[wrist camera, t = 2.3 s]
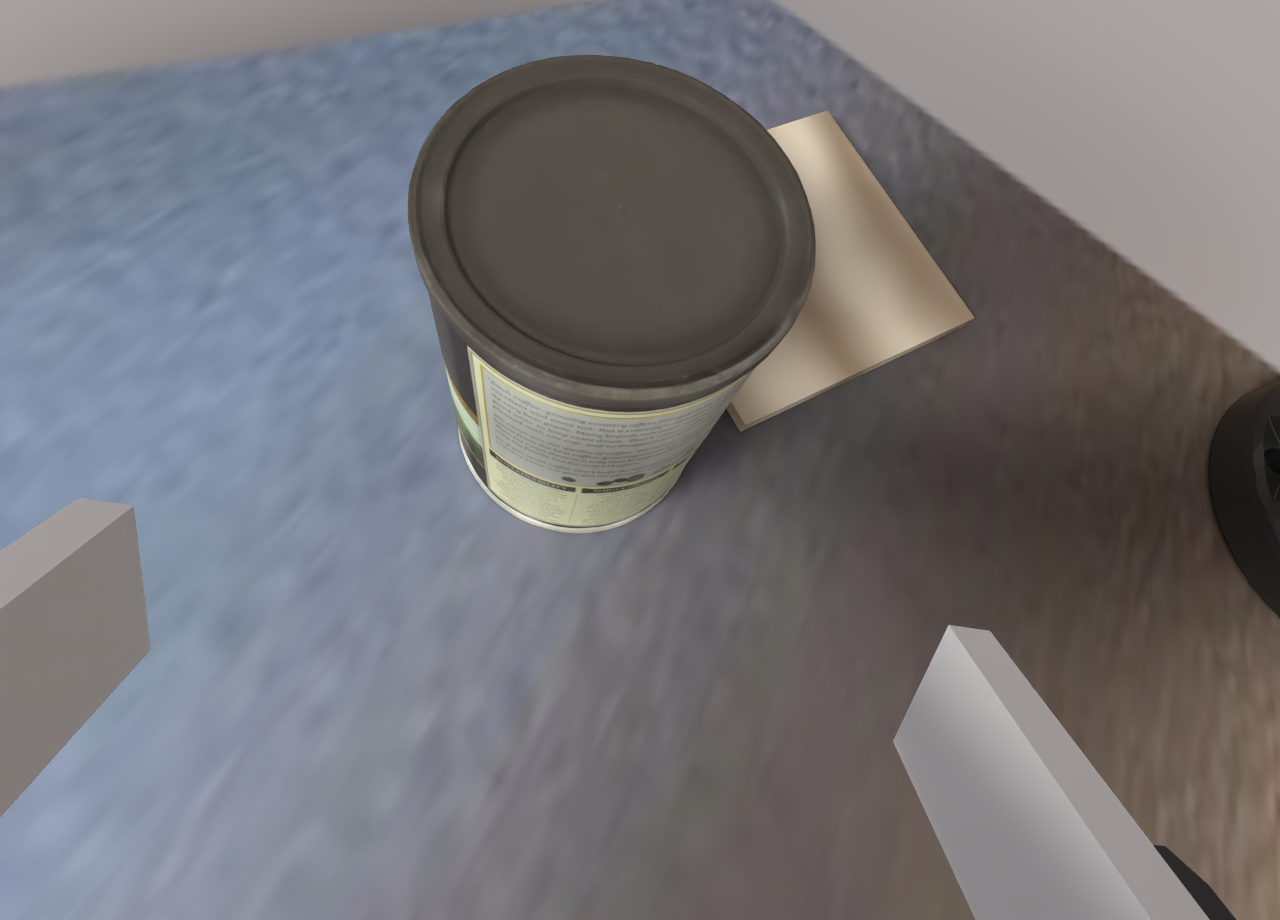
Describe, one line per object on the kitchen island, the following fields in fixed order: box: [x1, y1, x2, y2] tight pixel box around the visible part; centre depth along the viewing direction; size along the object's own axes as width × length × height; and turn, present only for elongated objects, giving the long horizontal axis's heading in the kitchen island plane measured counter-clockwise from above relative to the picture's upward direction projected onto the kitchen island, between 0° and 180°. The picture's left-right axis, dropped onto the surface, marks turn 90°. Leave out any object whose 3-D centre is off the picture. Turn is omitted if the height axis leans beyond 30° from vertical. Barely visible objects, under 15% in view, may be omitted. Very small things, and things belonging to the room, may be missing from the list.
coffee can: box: [408, 55, 816, 534], centre depth 24 cm, size 10×10×14 cm
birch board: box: [726, 111, 974, 432], centre depth 35 cm, size 14×14×1 cm
